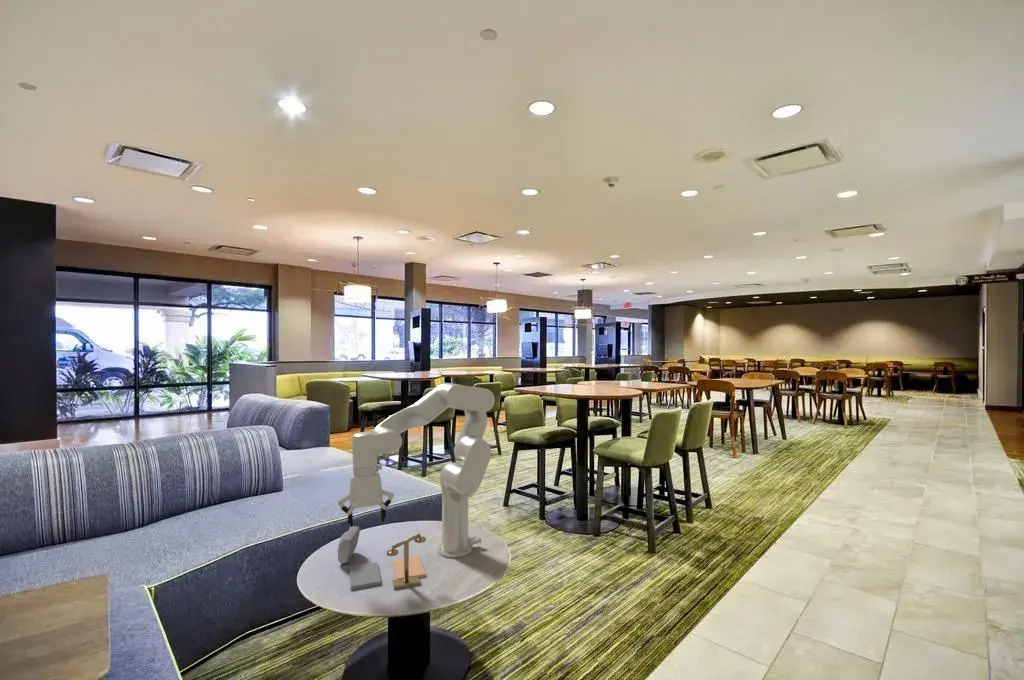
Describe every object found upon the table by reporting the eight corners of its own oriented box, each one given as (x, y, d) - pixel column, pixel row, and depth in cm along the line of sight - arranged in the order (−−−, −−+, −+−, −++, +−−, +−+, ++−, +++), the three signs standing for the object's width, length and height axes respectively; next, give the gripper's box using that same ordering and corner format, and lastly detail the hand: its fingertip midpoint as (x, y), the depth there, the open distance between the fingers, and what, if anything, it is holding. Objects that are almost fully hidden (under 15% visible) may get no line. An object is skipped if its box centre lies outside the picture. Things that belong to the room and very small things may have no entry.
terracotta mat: (418, 559, 168) (418, 555, 168) (425, 577, 155) (425, 573, 155) (392, 563, 165) (392, 559, 165) (397, 582, 152) (397, 578, 152)
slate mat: (377, 565, 163) (377, 562, 163) (381, 585, 150) (381, 581, 150) (349, 570, 160) (349, 566, 160) (350, 590, 147) (350, 586, 147)
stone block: (350, 567, 162) (350, 537, 162) (336, 567, 162) (336, 537, 162) (362, 551, 174) (362, 524, 174) (348, 551, 174) (348, 524, 174)
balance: (424, 578, 154) (424, 530, 154) (426, 584, 150) (426, 535, 150) (385, 585, 150) (385, 535, 150) (387, 591, 146) (387, 540, 146)
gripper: (391, 464, 162) (393, 514, 162) (337, 471, 156) (338, 523, 156) (393, 470, 155) (395, 522, 155) (337, 477, 149) (339, 532, 149)
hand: (367, 523), depth 155 cm, fingers open, 9 cm apart
